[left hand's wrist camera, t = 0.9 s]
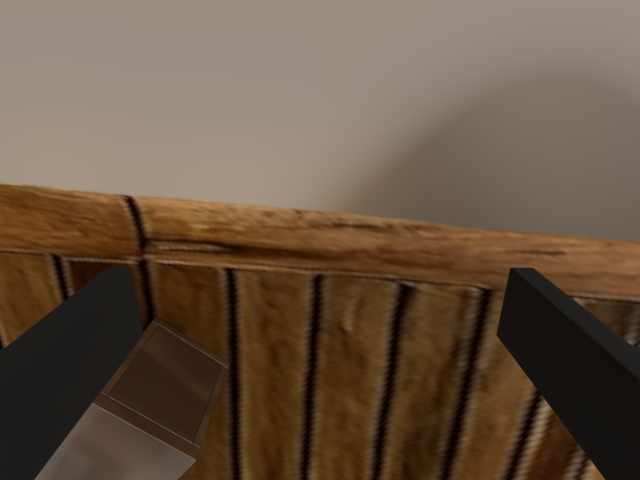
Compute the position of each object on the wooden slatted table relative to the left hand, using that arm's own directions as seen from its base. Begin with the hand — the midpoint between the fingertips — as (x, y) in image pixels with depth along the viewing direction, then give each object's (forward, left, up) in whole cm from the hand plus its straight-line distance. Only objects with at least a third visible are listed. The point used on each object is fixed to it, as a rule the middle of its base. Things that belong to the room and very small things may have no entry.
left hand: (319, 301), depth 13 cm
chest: (-23, +19, -21) cm, 37 cm away
